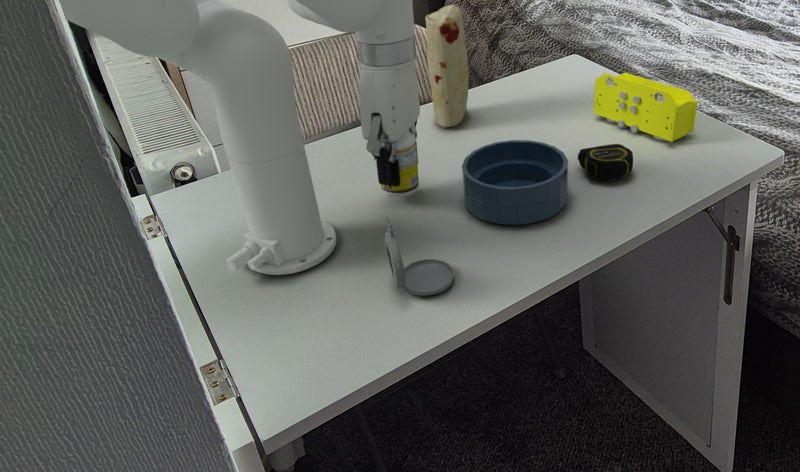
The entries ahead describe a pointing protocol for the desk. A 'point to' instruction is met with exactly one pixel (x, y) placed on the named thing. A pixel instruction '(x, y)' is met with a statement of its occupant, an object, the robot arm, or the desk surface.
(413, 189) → the supplement bottle
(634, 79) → the yellow toy chassis
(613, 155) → the tape measure
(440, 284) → the pocket watch
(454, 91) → the food model
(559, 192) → the blue faceted bowl
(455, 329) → the desk surface
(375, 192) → the desk surface
